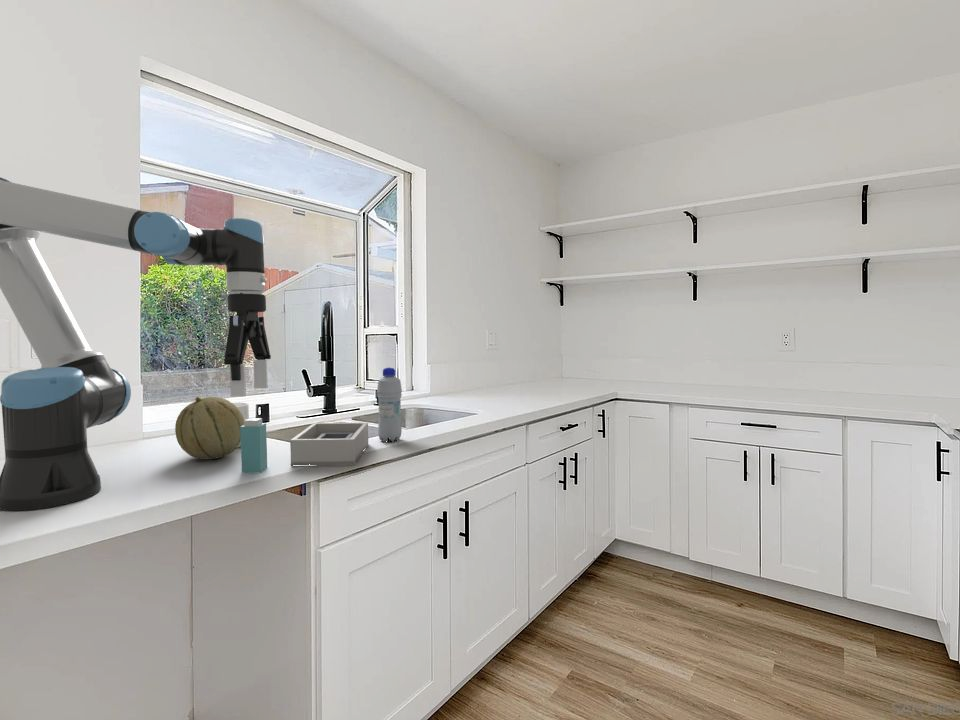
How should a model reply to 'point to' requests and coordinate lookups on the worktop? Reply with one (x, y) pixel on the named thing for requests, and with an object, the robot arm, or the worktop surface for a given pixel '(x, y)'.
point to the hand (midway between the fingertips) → (250, 392)
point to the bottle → (389, 406)
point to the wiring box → (329, 444)
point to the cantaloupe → (209, 428)
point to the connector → (253, 446)
